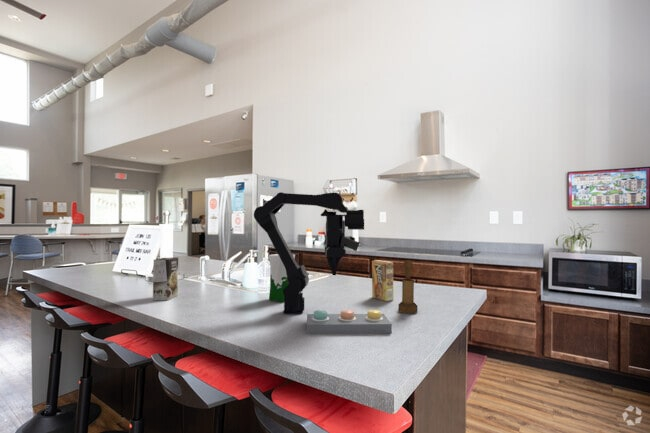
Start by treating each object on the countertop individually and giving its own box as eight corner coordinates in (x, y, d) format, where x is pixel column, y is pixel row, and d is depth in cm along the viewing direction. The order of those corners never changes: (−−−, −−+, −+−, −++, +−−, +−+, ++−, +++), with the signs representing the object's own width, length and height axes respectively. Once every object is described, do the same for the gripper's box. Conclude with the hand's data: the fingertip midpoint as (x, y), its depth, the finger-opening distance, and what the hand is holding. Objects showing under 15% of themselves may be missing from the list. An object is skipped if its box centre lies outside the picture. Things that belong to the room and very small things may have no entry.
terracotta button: (341, 319, 101) (341, 313, 101) (340, 315, 105) (340, 310, 105) (354, 319, 101) (354, 313, 101) (353, 315, 105) (353, 310, 105)
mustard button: (368, 319, 101) (368, 313, 101) (366, 315, 105) (366, 310, 105) (382, 319, 101) (382, 313, 101) (379, 315, 105) (379, 310, 105)
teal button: (313, 319, 101) (313, 313, 101) (313, 315, 105) (313, 310, 105) (327, 319, 101) (327, 313, 101) (326, 315, 105) (326, 310, 105)
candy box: (394, 300, 139) (394, 261, 139) (386, 301, 136) (386, 262, 137) (379, 296, 146) (379, 259, 146) (371, 297, 144) (371, 260, 144)
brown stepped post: (414, 314, 117) (414, 261, 117) (395, 312, 120) (395, 260, 121) (419, 310, 123) (419, 259, 123) (402, 308, 126) (402, 258, 126)
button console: (306, 333, 97) (306, 323, 97) (307, 322, 108) (307, 313, 108) (391, 333, 98) (391, 323, 98) (383, 321, 109) (383, 313, 109)
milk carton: (282, 303, 133) (282, 250, 133) (265, 299, 138) (265, 249, 138) (297, 299, 140) (297, 249, 140) (280, 296, 145) (280, 248, 146)
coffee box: (168, 300, 136) (168, 259, 136) (152, 300, 136) (152, 259, 136) (178, 295, 145) (179, 257, 145) (163, 295, 145) (163, 257, 145)
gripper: (361, 230, 110) (361, 279, 110) (354, 229, 129) (354, 271, 128) (326, 230, 110) (326, 279, 109) (324, 228, 128) (324, 271, 128)
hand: (334, 275), depth 119 cm, fingers closed
